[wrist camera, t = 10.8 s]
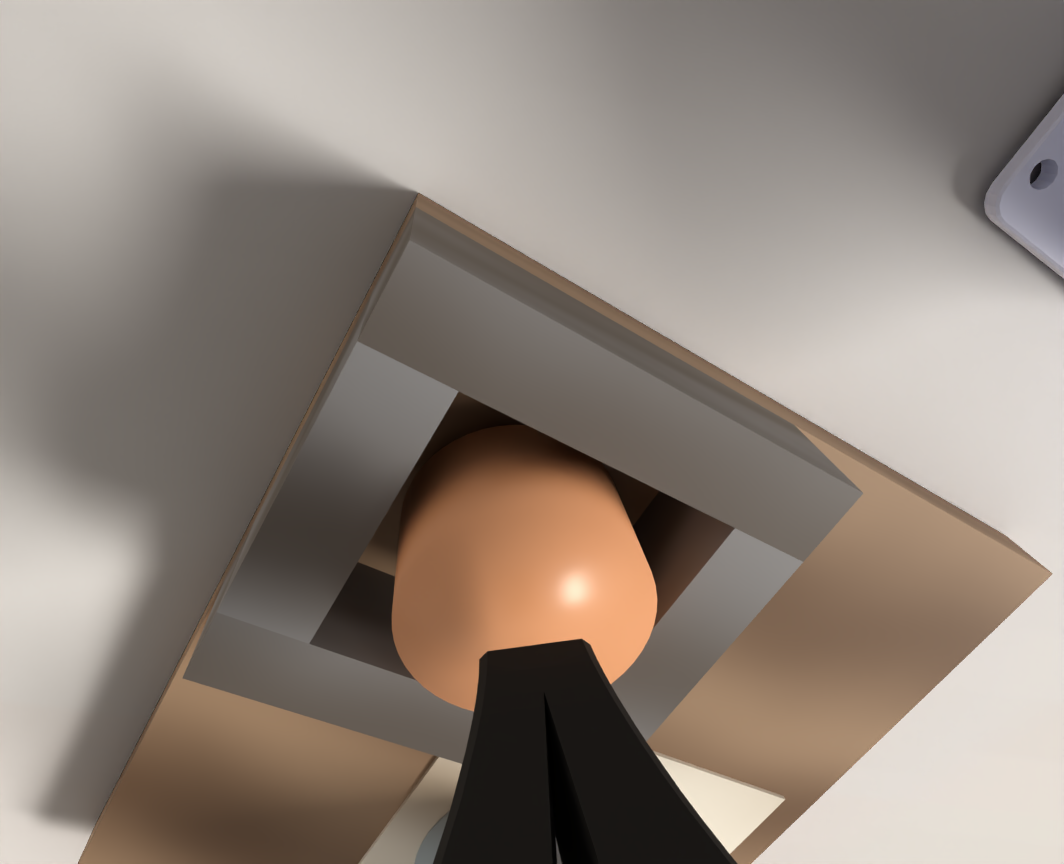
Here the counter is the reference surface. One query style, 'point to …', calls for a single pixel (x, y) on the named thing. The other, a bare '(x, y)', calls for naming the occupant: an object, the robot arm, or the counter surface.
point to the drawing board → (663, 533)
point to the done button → (515, 560)
